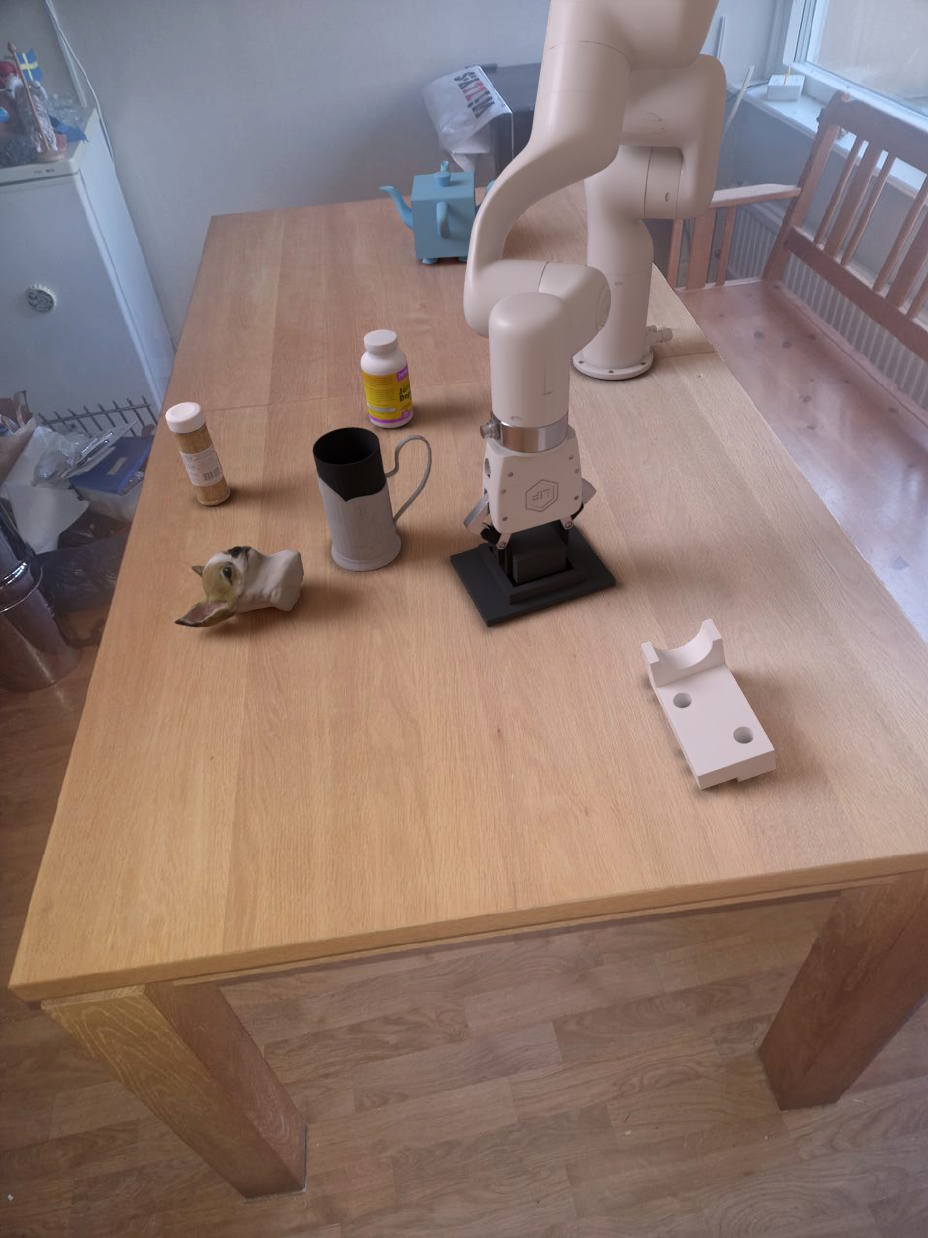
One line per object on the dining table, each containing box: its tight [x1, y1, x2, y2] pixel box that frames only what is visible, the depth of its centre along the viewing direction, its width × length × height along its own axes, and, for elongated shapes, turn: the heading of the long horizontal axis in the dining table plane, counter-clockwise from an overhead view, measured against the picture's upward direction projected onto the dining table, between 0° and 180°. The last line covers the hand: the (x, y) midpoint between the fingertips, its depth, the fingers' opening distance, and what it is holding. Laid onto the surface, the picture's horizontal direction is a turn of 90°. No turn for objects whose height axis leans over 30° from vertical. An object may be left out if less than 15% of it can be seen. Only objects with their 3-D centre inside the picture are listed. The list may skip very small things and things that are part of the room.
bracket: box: [640, 618, 777, 791], centre depth 75 cm, size 13×7×8 cm, turn 11°
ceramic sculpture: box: [173, 545, 305, 628], centre depth 91 cm, size 11×9×15 cm
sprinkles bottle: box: [164, 401, 231, 506], centre depth 104 cm, size 5×5×13 cm
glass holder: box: [312, 426, 433, 572], centre depth 95 cm, size 9×14×15 cm, turn 113°
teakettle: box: [378, 160, 497, 265], centre depth 157 cm, size 19×19×15 cm
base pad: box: [449, 524, 617, 628], centre depth 94 cm, size 16×12×2 cm
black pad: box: [508, 523, 566, 584], centre depth 92 cm, size 6×6×4 cm
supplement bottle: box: [360, 328, 414, 429], centre depth 115 cm, size 7×7×13 cm
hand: (530, 557), depth 93 cm, fingers closed on black pad, 6 cm apart
